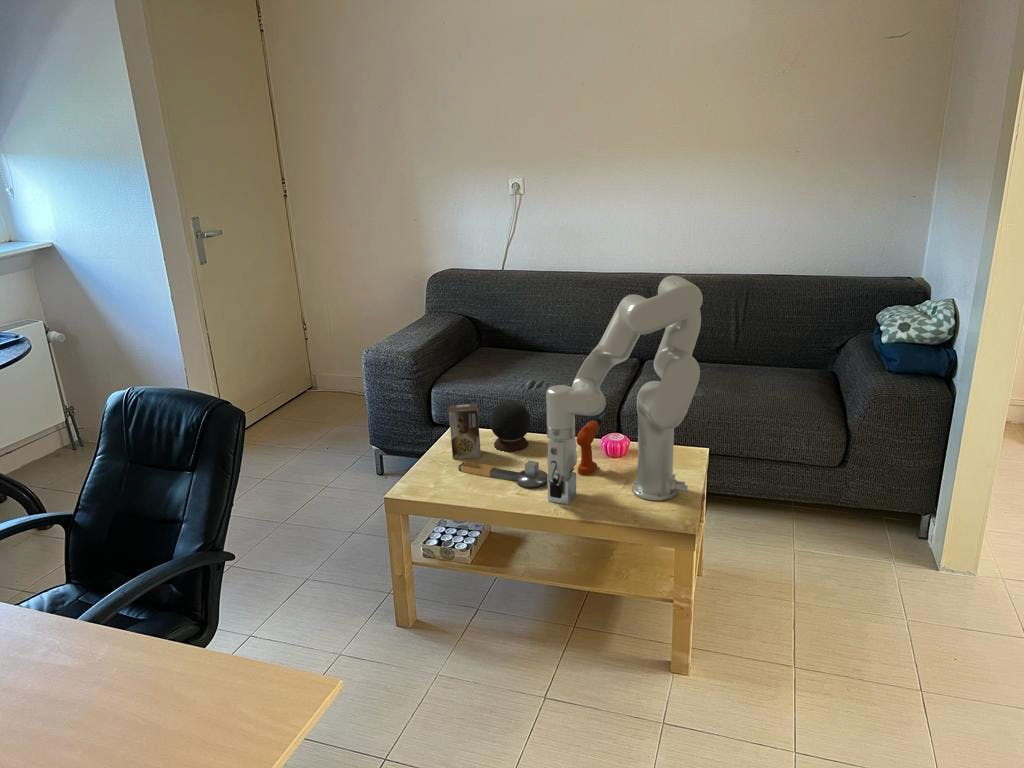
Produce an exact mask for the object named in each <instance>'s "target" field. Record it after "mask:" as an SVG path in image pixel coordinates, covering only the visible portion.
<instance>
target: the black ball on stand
mask: <svg viewBox="0 0 1024 768" xmlns="http://www.w3.org/2000/svg"><path fill="white" fill-rule="evenodd" d="M531 423H532V422H531V415H530V413H529V411H528V409H527V408H526V407H525V406H524V405H523V404H521V403H520V402H517V401H513V400H510V401H509V400H506V401H503V402H501V403H499V404H498V405H496V406H495V408H494V409H493V410H492V412H491V415H490V417H489V425H490V428H491V431H492V433H493V434H494V436H496V437H497V438H496V440H495V441H494V444H493V447H494V449H495V448H496V450H497V451H499V450H500V451H499V452H502V451H504V452H503V453H517V452H516V451H518V452H521V450H522V451H525V450H526V449H527V448H528V447H529V441H528V440H527V438H526V437H525V436H526V435H527V434H528V432H529V430H530V427H531ZM525 448H526V449H525Z"/></svg>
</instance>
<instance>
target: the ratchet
mask: <svg viewBox="0 0 1024 768" xmlns="http://www.w3.org/2000/svg"><path fill="white" fill-rule="evenodd" d="M539 463H540V461H534V460H528V461H527V462H526V463H524V470H521V471H515V470H509V469H503V468H497V467H496V466H495V465H491V464H490V465H489V464H485V463H479V462H478V463H477V462H475V461H474V462H473V461H465V462H464V461H463V462H461V463H460V464H459V465H458V472H461V473H466V472H467V473H468V474H471V473H472V475H479V476H483V477H487V478H494V479H501V480H506V481H511V482H516V485H517V486H518V487H520V488H523V489H526V490H536V489H537V490H538V489H541V487H542V488H544V487H545V485H546V486H548V485H547V475H548V473H547V472H546V471H544V470H541V469H540V464H539Z"/></svg>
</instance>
